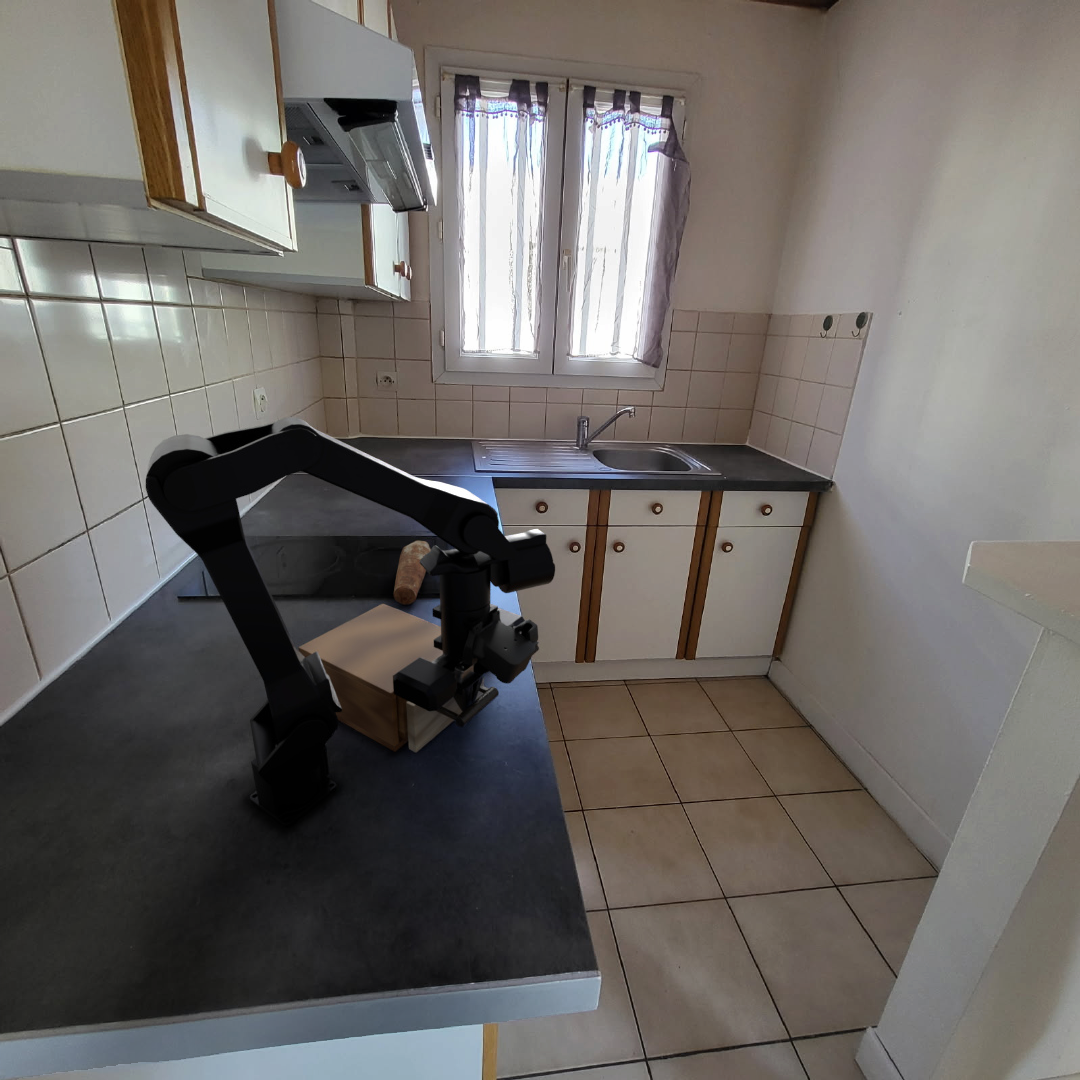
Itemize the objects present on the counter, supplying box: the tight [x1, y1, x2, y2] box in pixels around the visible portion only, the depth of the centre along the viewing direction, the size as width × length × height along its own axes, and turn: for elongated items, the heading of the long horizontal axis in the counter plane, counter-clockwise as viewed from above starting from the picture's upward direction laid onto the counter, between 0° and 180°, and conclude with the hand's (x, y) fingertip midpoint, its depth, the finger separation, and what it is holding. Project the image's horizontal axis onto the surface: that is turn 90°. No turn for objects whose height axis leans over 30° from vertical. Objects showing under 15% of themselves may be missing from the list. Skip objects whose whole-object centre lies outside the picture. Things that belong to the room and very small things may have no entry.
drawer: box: [396, 677, 500, 753], centre depth 73 cm, size 20×13×7 cm, turn 58°
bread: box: [393, 540, 432, 606], centre depth 107 cm, size 6×19×6 cm, turn 2°
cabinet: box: [297, 603, 443, 753], centre depth 75 cm, size 17×15×9 cm
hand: (466, 710), depth 69 cm, fingers closed
